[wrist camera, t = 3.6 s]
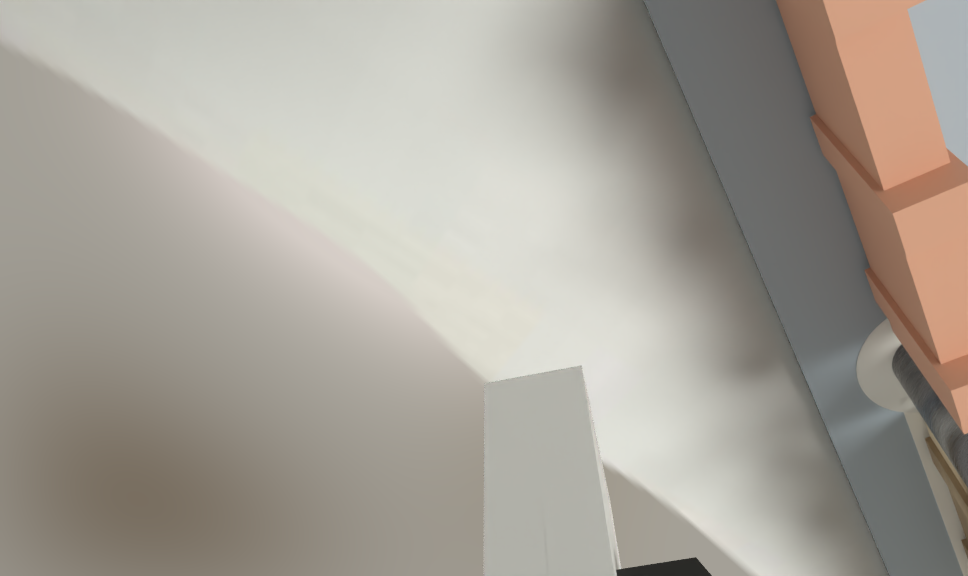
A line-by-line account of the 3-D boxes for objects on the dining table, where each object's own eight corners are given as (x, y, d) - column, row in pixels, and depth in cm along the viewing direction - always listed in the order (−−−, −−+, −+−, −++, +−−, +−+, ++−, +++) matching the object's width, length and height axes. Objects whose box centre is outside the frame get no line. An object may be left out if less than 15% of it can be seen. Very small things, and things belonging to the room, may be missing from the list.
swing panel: (947, 310, 22) (1048, 436, 18) (887, 333, 23) (973, 462, 19) (799, -164, 17) (896, -135, 13) (723, -123, 17) (795, -83, 13)
